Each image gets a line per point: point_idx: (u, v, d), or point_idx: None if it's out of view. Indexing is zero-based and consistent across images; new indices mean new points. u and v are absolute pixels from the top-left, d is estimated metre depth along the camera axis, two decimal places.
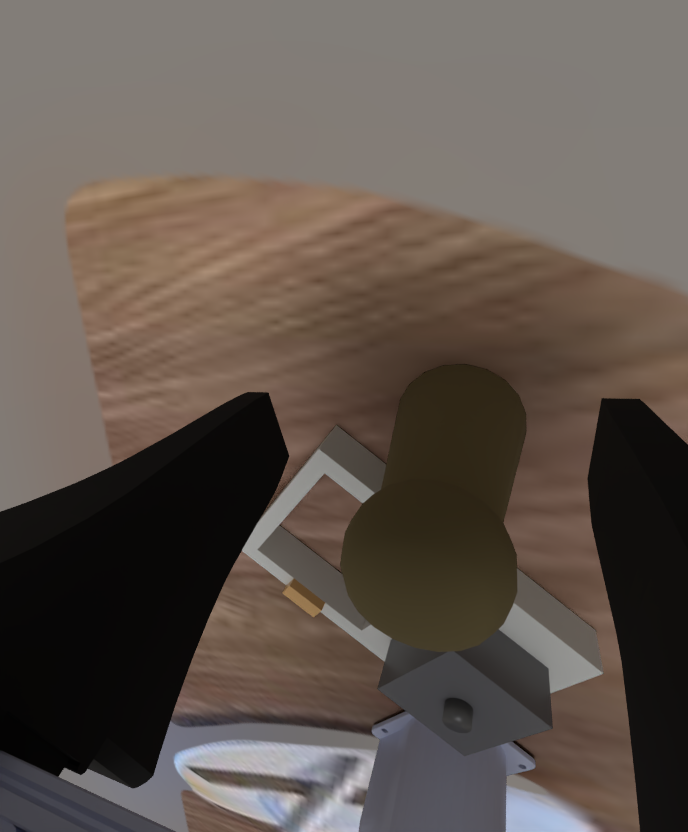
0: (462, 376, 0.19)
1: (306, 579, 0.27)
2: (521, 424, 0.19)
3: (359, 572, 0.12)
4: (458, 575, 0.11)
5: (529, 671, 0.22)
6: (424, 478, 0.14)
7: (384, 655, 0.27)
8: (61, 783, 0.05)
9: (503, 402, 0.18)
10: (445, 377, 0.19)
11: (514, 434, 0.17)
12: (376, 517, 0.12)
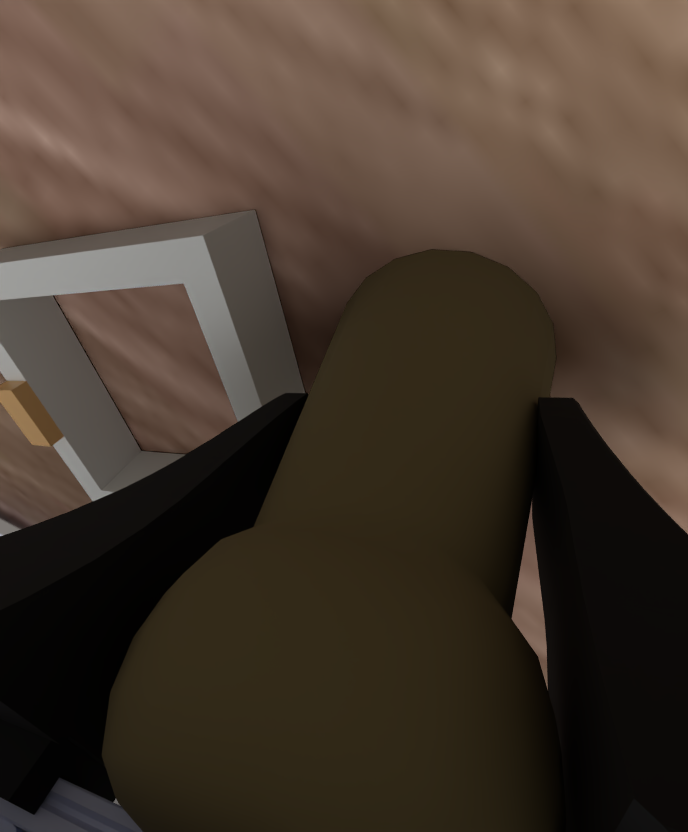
0: (531, 314, 0.10)
1: (49, 391, 0.16)
2: None
3: (182, 823, 0.03)
4: None
5: None
6: (453, 554, 0.05)
7: None
8: (61, 783, 0.05)
9: None
10: (509, 296, 0.10)
11: None
12: (349, 731, 0.03)
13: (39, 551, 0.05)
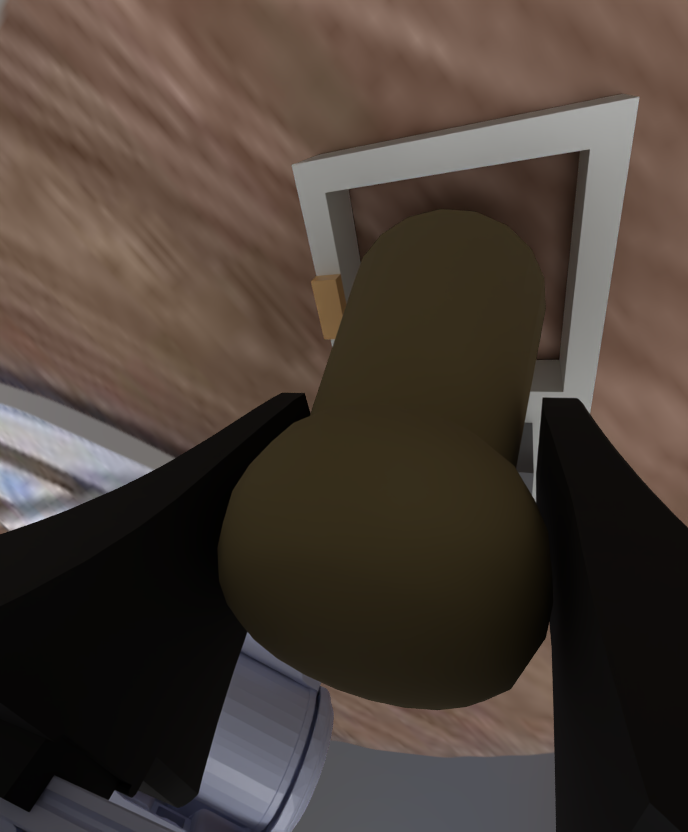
0: (526, 267, 0.11)
1: (347, 287, 0.17)
2: None
3: (304, 575, 0.05)
4: (486, 680, 0.06)
5: None
6: (473, 431, 0.07)
7: None
8: (61, 783, 0.05)
9: None
10: (509, 250, 0.11)
11: None
12: (419, 506, 0.05)
13: (35, 549, 0.06)
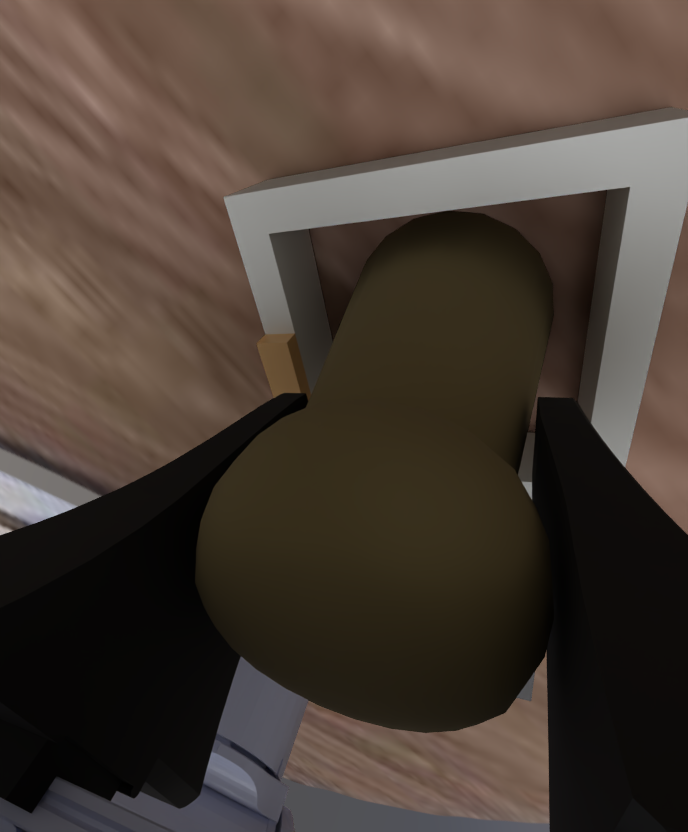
0: (534, 270, 0.11)
1: (306, 347, 0.14)
2: None
3: (279, 577, 0.05)
4: (477, 702, 0.05)
5: None
6: (471, 432, 0.07)
7: None
8: (61, 783, 0.05)
9: None
10: (516, 253, 0.11)
11: None
12: (407, 505, 0.05)
13: (37, 550, 0.06)
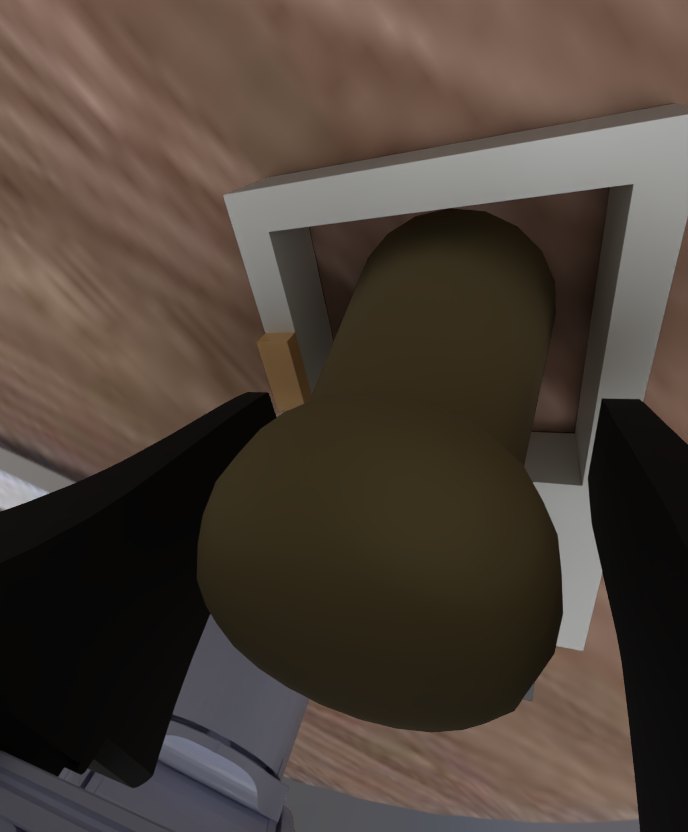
0: (536, 268, 0.11)
1: (306, 346, 0.14)
2: None
3: (285, 572, 0.05)
4: (487, 700, 0.05)
5: None
6: (477, 426, 0.07)
7: None
8: (61, 783, 0.05)
9: None
10: (518, 250, 0.11)
11: None
12: (415, 497, 0.04)
13: None
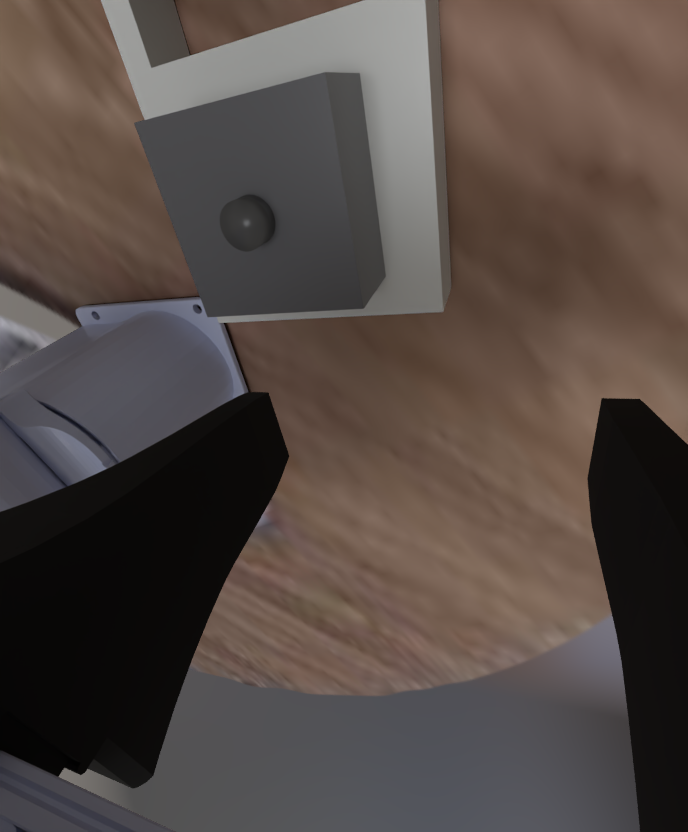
0: None
1: None
2: None
3: None
4: None
5: (373, 248, 0.15)
6: None
7: None
8: (61, 783, 0.05)
9: None
10: None
11: None
12: None
13: None
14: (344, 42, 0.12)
